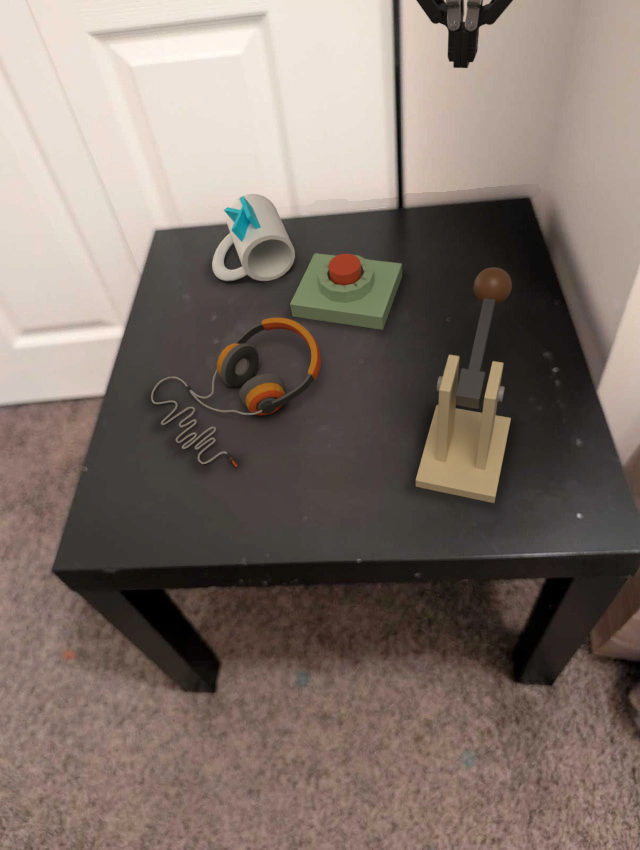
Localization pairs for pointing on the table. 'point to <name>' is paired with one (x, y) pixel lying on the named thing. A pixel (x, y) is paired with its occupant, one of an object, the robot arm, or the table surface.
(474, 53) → the robot arm
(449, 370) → the switch bracket
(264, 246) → the mug
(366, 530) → the table surface
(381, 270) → the control block
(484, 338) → the lever
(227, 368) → the headphones
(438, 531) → the table surface
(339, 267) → the button
